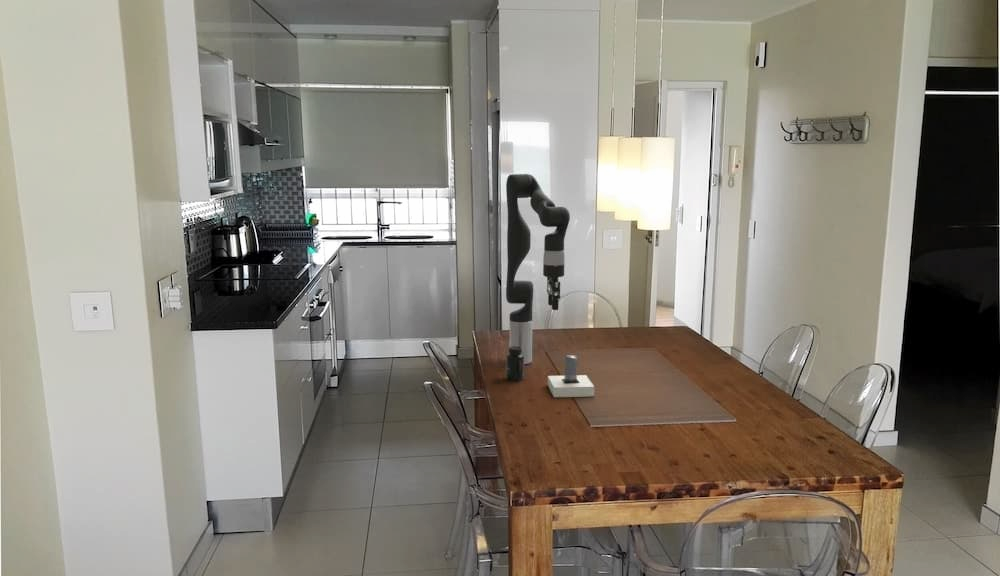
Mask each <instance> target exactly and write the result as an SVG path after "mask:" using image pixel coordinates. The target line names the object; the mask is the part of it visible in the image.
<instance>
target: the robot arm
mask: <svg viewBox="0 0 1000 576" xmlns="http://www.w3.org/2000/svg"><path fill="white" fill-rule="evenodd" d="M505 185H506V186H505V187H506V188H505V191H506V193H505V194H506V206H507V207H506V208H507V231H506V232H507V234H506V235H507V236H506V242H507V243H506V245H507V247H506V251H507V253H506V254H507V269H506V287H505V297H506V301H507V303H508V304H514V305H517V304H518V305H519V304H524V305H523V306H522V307H520V308H519V309H517V310H514V311H512V312H510V313H509V342H508V343H509V347H512V346H518V347H521V348H522V353H521V354H522V355H523V356H524V365H527V364H530V363H532V362H533V306H534V305H533V304H534V303H533V302H534V284H533V282H532V281H531V280H515V278H516V275H517V272H518V270H519V269H520V266H521V265H522V263H523V261H524V260H525V259H526V257H527V256H528V255H529V252H530V250H531V239H532V238H531V229H530V227H529V225H528V223H527V222H526V220H525V219H524V217H523V215H522V214H521V212H520V209H519V203H518V199H528V198H530V200H529V201H530V204H529V205H530V207H531V208H532V210H533V211H534V212H535V213H536V214H537V215H538V218H539V222H540V224H541V225H542V226H543V227H546V228H555V230H554V231H553V232H551V233H550V232H549V233H547V234H545V235H544V239H543V241H544V243H543V245H544V249H543V250H544V251H543V263H542V264H543V268H542V269H543V270H542V271H543V272H542V273H543V274H542V276H544V277H546V278H547V279H546V282H547V283H546V284H547V285H546V286H547V287H546V293H547V295H548V296H547V297H548V298H547V300H548V301H547V304H548V306H551V309H552V310H553V311H558V310H559V300H560V299H561V281H559V278H562V277H564V276H565V261H566V260H565V259H566V257H565V238H566V233H567V229H568V227H569V223H570V219H571V218H570V216H571V214H570V211H569V210H568V209H567V207H565V206H556V204H555V203H554V202H553V200H552V199H551V198H549V196H547V195H546V194H545V192H544V191H543V189H542V188H541V187H542V186H541V185H540V184H539V181H537V179H536V178H535V176H533V175H532V174H529V173H522V174H521V173H519V174H517V173H513V174H509V175H508V176H507V178H506V183H505ZM509 347H508V348H509Z"/></svg>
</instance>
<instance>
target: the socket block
mask: <svg viewBox="0 0 1000 576" xmlns="http://www.w3.org/2000/svg"><path fill="white" fill-rule="evenodd" d="M547 387H548V388H549V390H550V392H551V395H552V396H553V397H554V398H577V397H579V398H581V397H582V398H584V397H585V398H586V397H587V398H588V397H595V385H594V384H593V383H592V381H591V380H590V378H589V377H588V376H587V375H586V374H581V375H580V374H579V375H578V374H577V383H571V384H564V375H548V376H547Z"/></svg>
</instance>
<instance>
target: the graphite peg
mask: <svg viewBox="0 0 1000 576" xmlns="http://www.w3.org/2000/svg"><path fill="white" fill-rule="evenodd" d="M578 360H579V358H578V356H577V355H575V354H572V355H571V354H569V355H568V354H567V355H565V356H564V375H563V376H564V384H571V383H577V375H578V363H579V361H578Z"/></svg>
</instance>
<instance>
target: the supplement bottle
mask: <svg viewBox="0 0 1000 576" xmlns="http://www.w3.org/2000/svg"><path fill="white" fill-rule="evenodd" d="M521 353H522V348H521V347H518V346H512V347H508V354H506V357H505V379H506V380H507V381H510V382H521V381H522V380H524V378H525V364H524V356H523V355H522V354H521Z"/></svg>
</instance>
